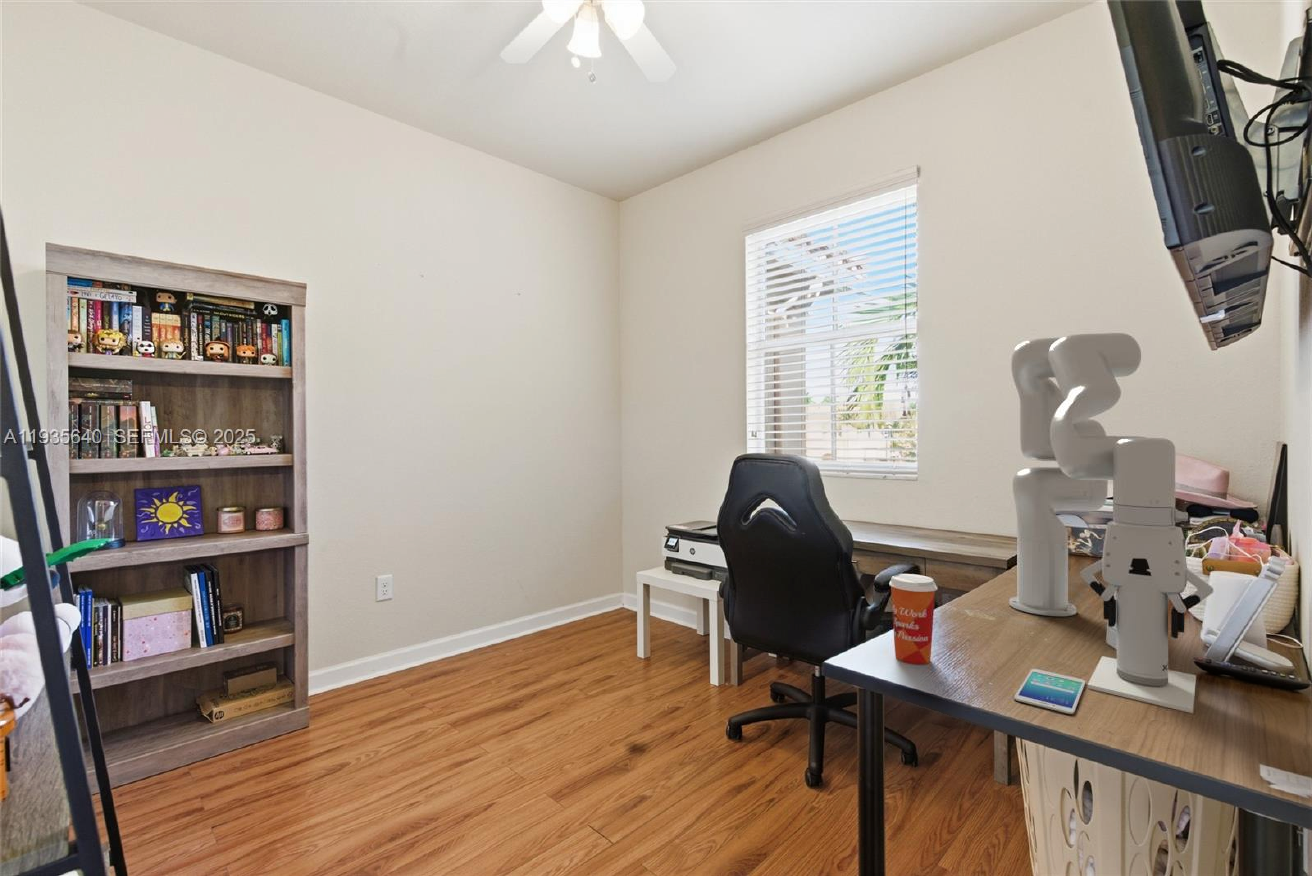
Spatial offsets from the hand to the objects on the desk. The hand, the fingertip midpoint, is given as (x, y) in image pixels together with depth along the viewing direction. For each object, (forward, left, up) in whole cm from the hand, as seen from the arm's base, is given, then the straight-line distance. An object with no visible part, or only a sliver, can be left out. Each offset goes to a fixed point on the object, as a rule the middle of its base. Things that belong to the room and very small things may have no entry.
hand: (1142, 629), depth 93 cm
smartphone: (+13, -10, -9) cm, 19 cm away
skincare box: (-16, -2, -9) cm, 18 cm away
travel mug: (0, 0, -8) cm, 8 cm away
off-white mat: (0, 0, -8) cm, 8 cm away
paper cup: (+14, -30, -9) cm, 34 cm away
